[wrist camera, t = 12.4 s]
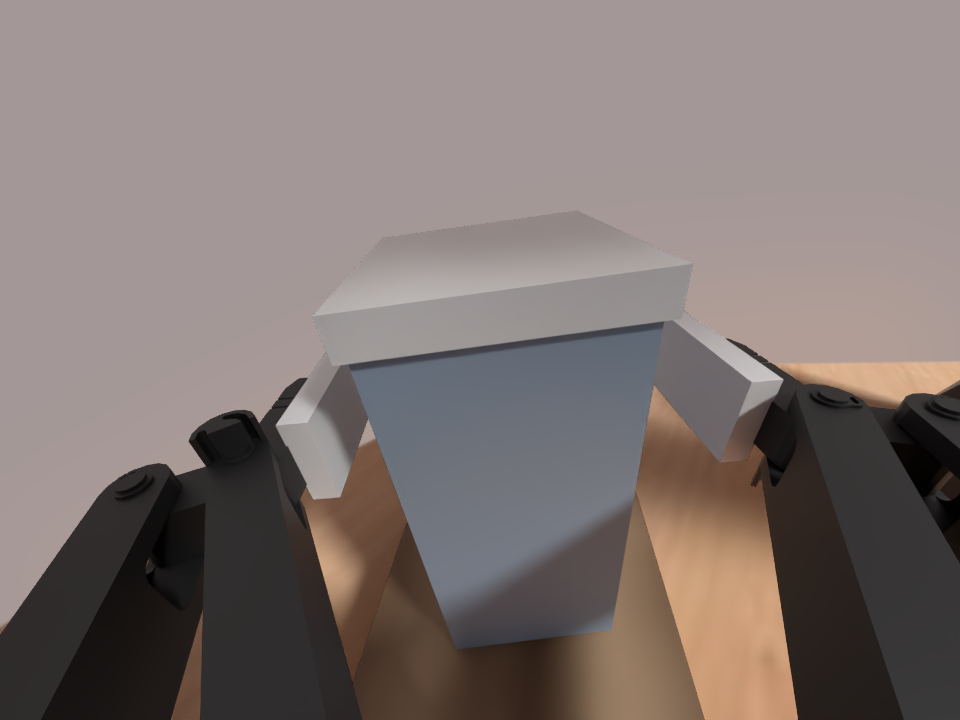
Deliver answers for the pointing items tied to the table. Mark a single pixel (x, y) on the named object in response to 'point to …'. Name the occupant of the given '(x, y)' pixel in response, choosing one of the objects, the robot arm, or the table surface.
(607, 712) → the walnut block
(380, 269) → the tin
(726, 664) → the table surface
